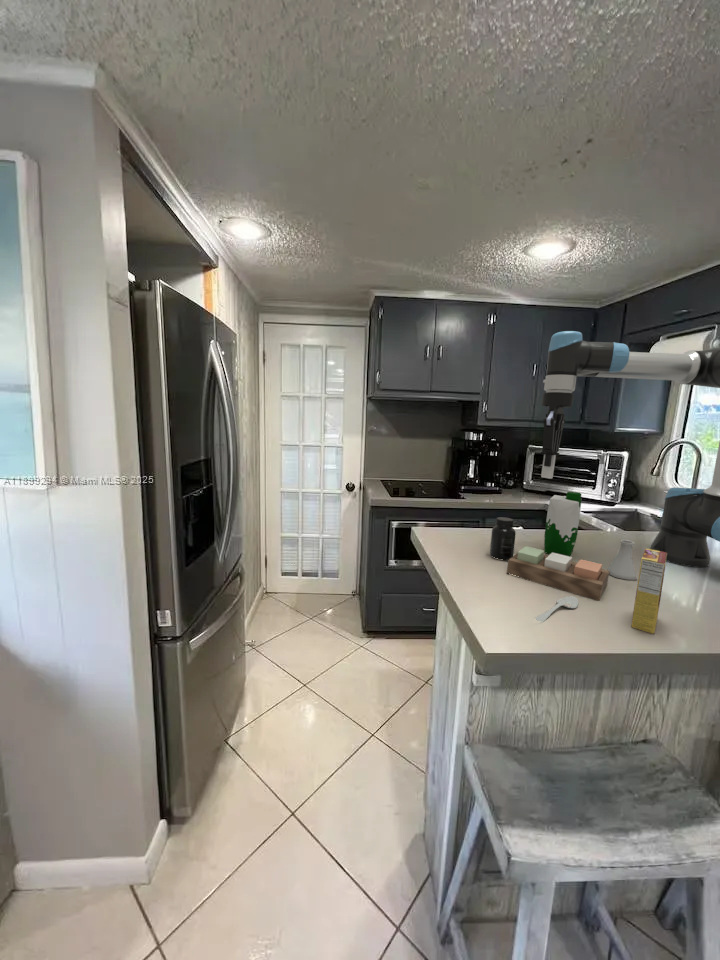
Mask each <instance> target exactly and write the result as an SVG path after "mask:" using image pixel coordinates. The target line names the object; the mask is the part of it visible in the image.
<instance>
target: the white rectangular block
mask: <svg viewBox="0 0 720 960" xmlns="http://www.w3.org/2000/svg"><path fill="white" fill-rule="evenodd" d="M572 562H573V557H572V556H570V557H569V556H565V555H561V554H557V553H553V552H552V553H551V554H548V557H547V558H546V559H545V565H544V567H548V568H552V569H555V570H559V571H563V572H567V571H568V569H569V568H570V567H571V563H572Z"/></svg>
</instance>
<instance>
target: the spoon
mask: <svg viewBox="0 0 720 960" xmlns="http://www.w3.org/2000/svg"><path fill="white" fill-rule="evenodd" d="M556 603H557V604H555V606H552V608H549V609H548V610H546V611H545V612H543V613H541V614H540V615H539V614H538V615H537V616H536V617H535V618H536V620H537V621H541V622H542V623H543V621H544V622H545V621H546V620H548V618H549V617H550V616H551V615H552V614H553V612H555V611H556V610H557V609H559V608H560V607H564V608H568V609H576V608H577V607H579V600H578V598H577V597H576V596H573V595H570V596H568V595H567V596H564V597H563V598H560V599H557V600H556ZM566 604H568V605H570V606H568V605H566Z"/></svg>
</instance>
